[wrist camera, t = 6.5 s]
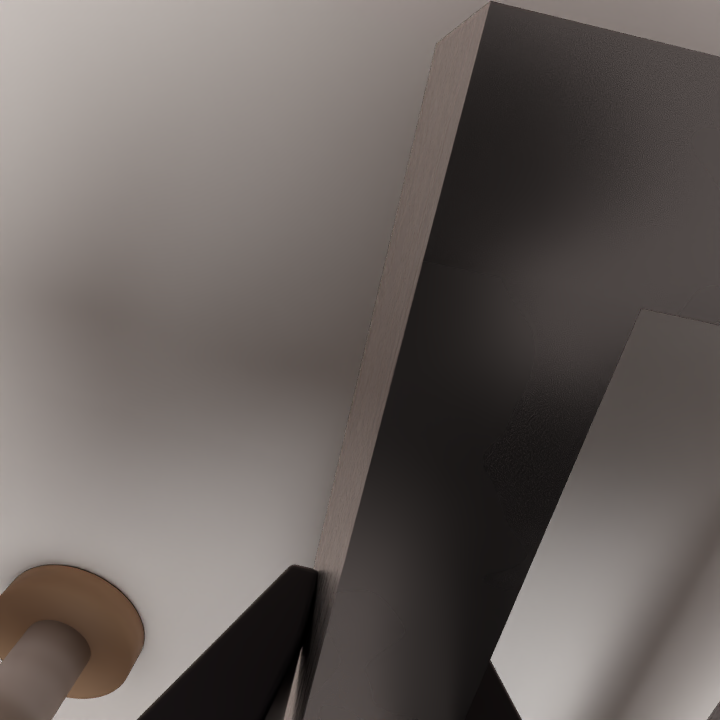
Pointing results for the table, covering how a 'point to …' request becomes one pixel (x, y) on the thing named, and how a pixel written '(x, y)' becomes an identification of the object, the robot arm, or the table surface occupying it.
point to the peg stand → (63, 640)
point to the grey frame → (501, 340)
